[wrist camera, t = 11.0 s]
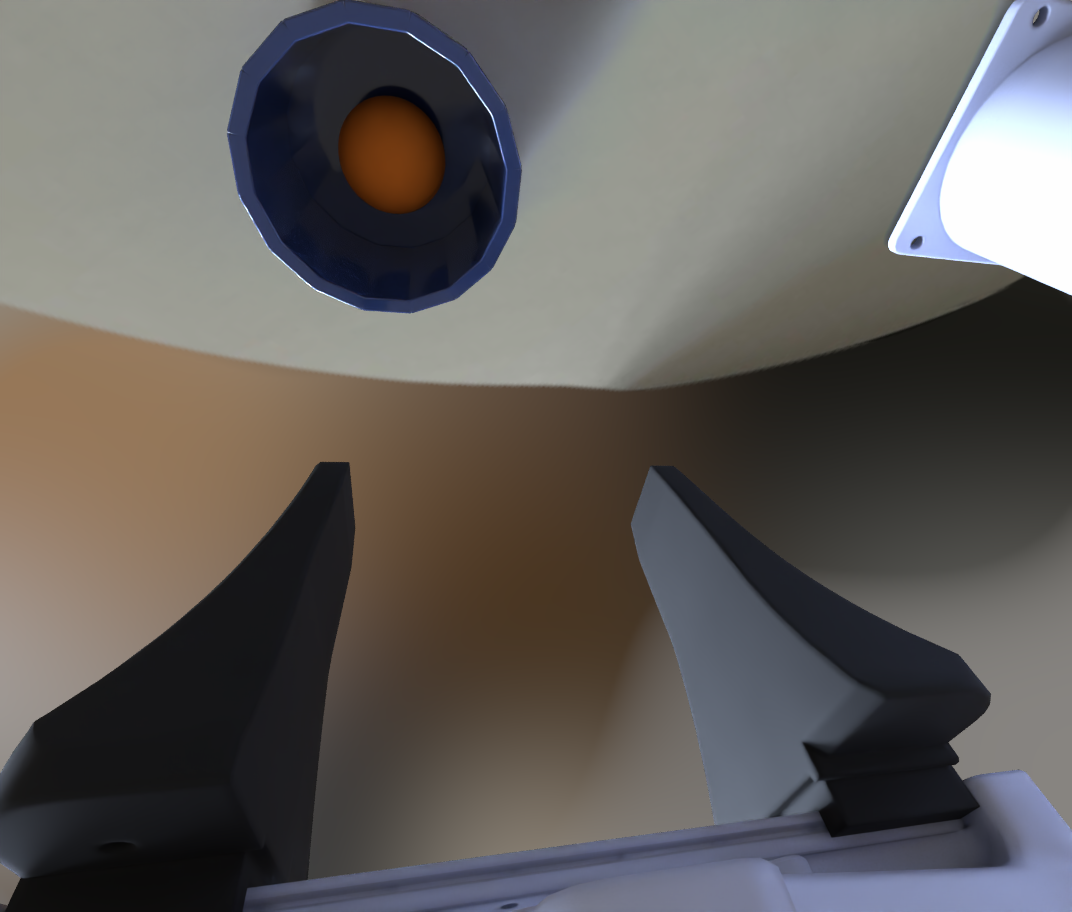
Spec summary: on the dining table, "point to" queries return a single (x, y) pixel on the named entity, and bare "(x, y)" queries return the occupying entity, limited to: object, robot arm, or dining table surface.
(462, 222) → the blue cup
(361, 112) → the ball
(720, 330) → the dining table surface
